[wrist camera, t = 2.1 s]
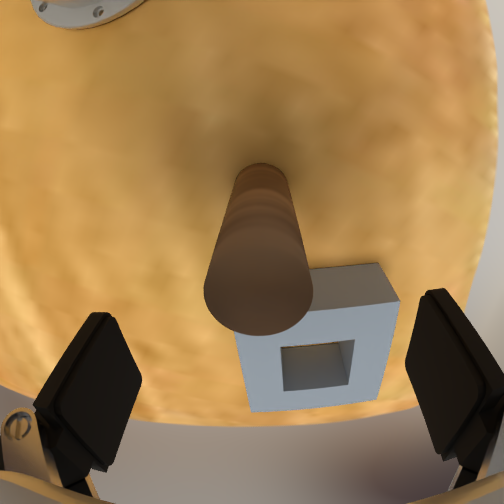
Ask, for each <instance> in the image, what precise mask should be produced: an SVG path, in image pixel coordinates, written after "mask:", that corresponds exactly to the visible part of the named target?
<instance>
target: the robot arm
mask: <svg viewBox="0 0 504 504" xmlns="http://www.w3.org/2000/svg"><path fill="white" fill-rule="evenodd" d="M143 1H144V0H31V3H32V6H33V9H34V11H35V12H36V14H37V15H38V17H39V18H41V19H42V20H43V21H44V22H46V23H47V24H50V25H52V26H55V27H59V28H64V29H85V28H91V27H95V26H98V25H101V24H104V23H107V22H110V21H112V20H114V19H116V18H118V17H120V16H122V15H124V14H126V13H127V12H129V11H130V10H132V9H133V8H135V7H137V6H138V5H140V4H141V3H142V2H143ZM102 13H103V14H102ZM405 367H406V371H407V373H408V376H409V379H410V381H411V384H412V386H413V389H414V392H415V394H416V397H417V400H418V402H419V405H420V408H421V410H422V413H423V416H424V419H425V422H426V425H427V428H428V430H429V434H430V437H431V440H432V442H433V446H434V448H435V451H436V453H437V454H441V456H442V459H443V461H446V460H449V459H452V458H455V457H457V459H458V462H459V467H458V470H457V472H456V474H455V476H454V478H453V481H452V483H451V485H450V487H449V489H448V491H447V492H445V493H442V494H439V495H435V496H432V497H429V498H426V499H422V500H418V501H415V502H412V503H408V504H504V373H503V372H502V370H501V368H500V367H499V365H498V364H497V362H496V360H495V359H494V357H493V356H492V354H491V352H490V351H489V349H488V348H487V346H486V345H485V343H484V342H483V340H482V339H481V337H480V336H479V334H478V333H477V331H476V330H475V328H474V327H473V326H472V324H471V323H470V321H469V320H468V319H467V317H466V316H465V314H464V313H463V311H462V310H461V309H460V307H459V306H458V305H457V303H456V302H455V301H454V299H453V298H452V297H451V295H450V294H449V293H448V291H447V290H446V289H445V288H440V289H433V290H428V291H426V293H425V296H422V297H421V298H420V302H419V307H418V311H417V316H416V320H415V324H414V328H413V332H412V336H411V340H410V344H409V348H408V352H407V355H406V359H405ZM141 384H142V376H141V373H140V371H139V369H138V367H137V365H136V363H135V361H134V359H133V357H132V354H131V352H130V350H129V348H128V346H127V343H126V341H125V339H124V337H123V334H122V332H121V330H120V328H119V325H118V323H117V321H116V319H115V318H114V317H112V316H111V314H110V313H107V312H93V313H91V314H90V315H89V317H88V318H87V319H86V321H85V322H84V324H83V325H82V327H81V328H80V330H79V331H78V333H77V334H76V336H75V337H74V339H73V340H72V342H71V343H70V345H69V346H68V348H67V349H66V351H65V352H64V354H63V355H62V357H61V359H60V360H59V362H58V363H57V365H56V366H55V368H54V370H53V371H52V373H51V374H50V376H49V378H48V379H47V381H46V383H45V384H44V386H43V388H42V389H41V391H40V393H39V394H38V396H37V398H36V400H35V401H34V403H33V406H34V407H35V408H36V412H35V413H33V412H32V411H31V410H30V409H28V408H18V409H15V410H13V411H12V412H10V413H9V414H8V415H7V416H6V417H5V419H4V420H3V422H2V425H1V431H0V434H1V435H0V504H114V503H110V502H107V501H103V500H100V498H99V496H98V493H97V491H96V489H95V487H94V484H93V482H92V480H91V477H90V475H89V472H90V469H91V468H92V469H94V470H98V471H102V472H107V469H108V466H110V465H112V464H113V462H114V460H115V457H116V454H117V451H118V448H119V445H120V442H121V439H122V436H123V433H124V430H125V427H126V424H127V422H128V419H129V417H130V414H131V411H132V408H133V406H134V403H135V400H136V397H137V395H138V392H139V389H140V387H141Z"/></svg>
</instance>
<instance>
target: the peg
mask: <svg viewBox="0 0 504 504" xmlns="http://www.w3.org/2000/svg"><path fill="white" fill-rule="evenodd" d="M204 299H205V302H206V305H207V307H208V309H209V311H210V312H211V314H212V315H213V316H214V318H215V319H216V320H217V321H219V322H220V323H221V324H222V325H224V326H225V327H227V328H229V329H230V330H233V331H235V332H237V333H241V334H245V335H250V336H268V335H273V334H277V333H280V332H283V331H285V330H288V329H289V328H291V327H293V326H294V325H296V324H297V323H298V322H299V321H300V320H301V319H302V318H303V317H304V316H305V315H306V313H307V312H308V310H309V308H310V306H311V303H312V299H313V284H312V279H311V275H310V271H309V266H308V262H307V258H306V254H305V250H304V245H303V241H302V237H301V233H300V229H299V225H298V221H297V217H296V213H295V210H294V206H293V202H292V198H291V194H290V191H289V187H288V183H287V180H286V178H285V176H284V174H283V173H282V172H281V171H280V170H279V169H278V168H276V167H274V166H272V165H270V164H266V163H257V164H253V165H250V166H248V167H246V168H245V169H243V170H242V171H241V172H240V174H239V175H238V177H237V179H236V181H235V184H234V187H233V190H232V194H231V197H230V200H229V203H228V206H227V209H226V213H225V216H224V219H223V222H222V226H221V229H220V232H219V235H218V239H217V242H216V245H215V249H214V252H213V255H212V259H211V262H210V265H209V269H208V272H207V276H206V279H205V283H204Z"/></svg>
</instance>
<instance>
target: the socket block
mask: <svg viewBox="0 0 504 504" xmlns="http://www.w3.org/2000/svg"><path fill="white" fill-rule="evenodd" d="M309 271H310V275H311V279H312V284H313V299H312V303H311V306H310V308H309V310H308V312H307V313H306V315H305V316H304V317H303V318H302V319H301V320H300V321H299V322H298V323H297V324H296V325H294V326H293V327H291V328H289V329H288V330H285V331H283V332H280V333H277V334H273V335H268V336H250V335H245V334H241V333H237V332H235V331H234V334H235V339H236V344H237V348H238V353H239V358H240V363H241V368H242V372H243V377H244V382H245V386H246V391H247V396H248V400H249V405H250V409H251V412H271V411H287V410H300V409H310V408H320V407H329V406H337V405H344V404H351V403H358V402H364V401H370V400H376V399H377V396H378V392H379V389H380V386H381V382H382V378H383V375H384V371H385V367H386V364H387V360H388V356H389V352H390V347H391V343H392V339H393V334H394V330H395V325H396V320H397V315H398V310H399V305H400V300H399V298H398V296H397V294H396V292H395V291H394V289H393V287H392V285H391V284H390V282H389V280H388V278H387V277H386V275H385V273H384V272H383V270H382V268H381V266H380V265H379V263H373V264H362V265H352V266H341V267H330V268H319V269H309ZM336 341H338V343H332V344H323V345H313V346H303V347H291V348H281V347H284V346H296V345H307V344H318V343H327V342H336Z"/></svg>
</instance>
